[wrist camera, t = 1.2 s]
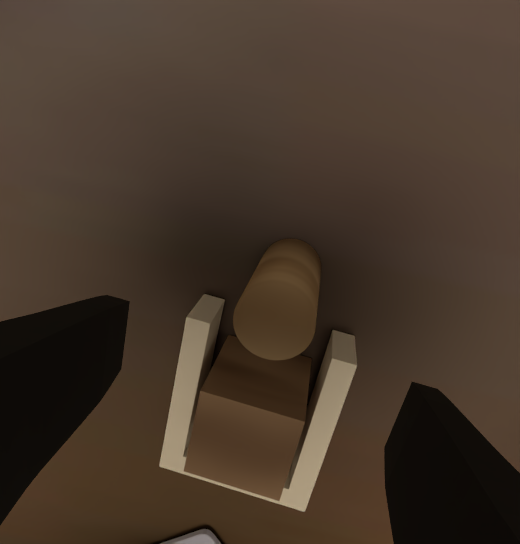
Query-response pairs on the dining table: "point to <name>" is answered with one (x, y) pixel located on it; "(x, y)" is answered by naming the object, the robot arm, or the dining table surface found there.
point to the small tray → (318, 414)
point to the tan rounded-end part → (260, 377)
